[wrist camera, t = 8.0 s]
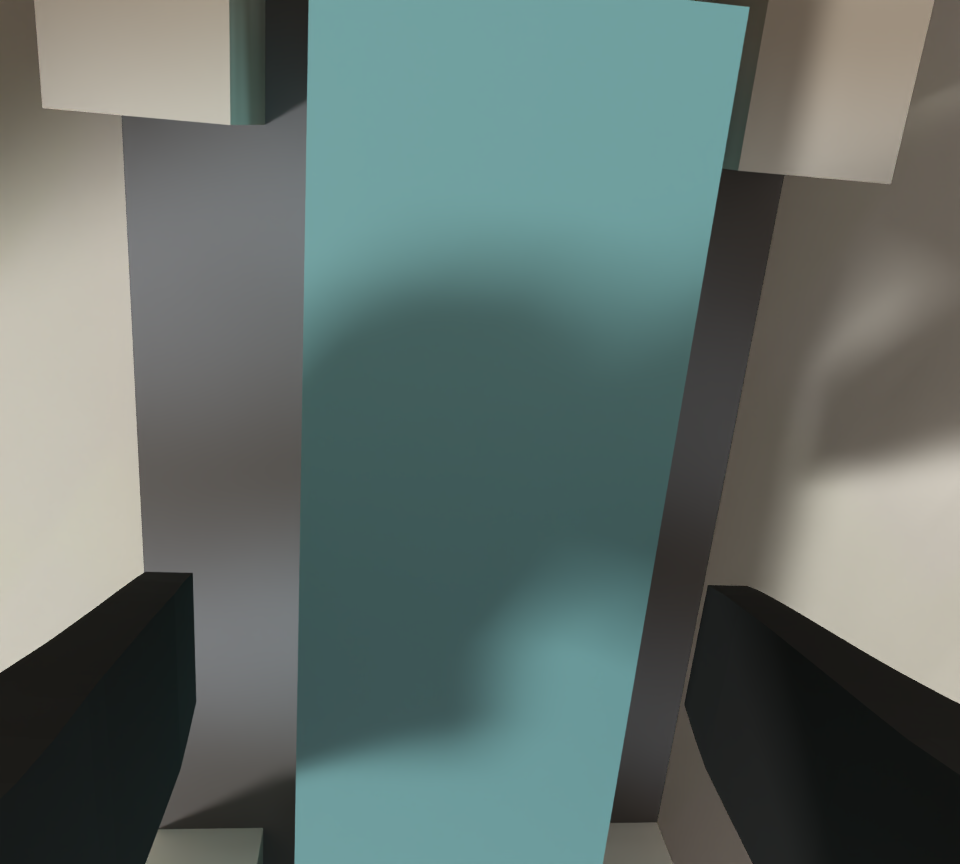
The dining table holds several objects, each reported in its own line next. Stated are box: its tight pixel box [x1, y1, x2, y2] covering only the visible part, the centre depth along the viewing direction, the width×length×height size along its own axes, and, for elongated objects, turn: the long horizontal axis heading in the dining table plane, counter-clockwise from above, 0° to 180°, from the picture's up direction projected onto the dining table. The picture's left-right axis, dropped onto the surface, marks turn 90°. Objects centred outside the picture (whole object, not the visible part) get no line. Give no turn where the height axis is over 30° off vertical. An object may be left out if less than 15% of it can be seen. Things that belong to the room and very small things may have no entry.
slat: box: [294, 0, 750, 864], centre depth 13 cm, size 16×4×5 cm, turn 175°
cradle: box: [34, 0, 935, 864], centre depth 14 cm, size 22×10×4 cm, turn 175°
